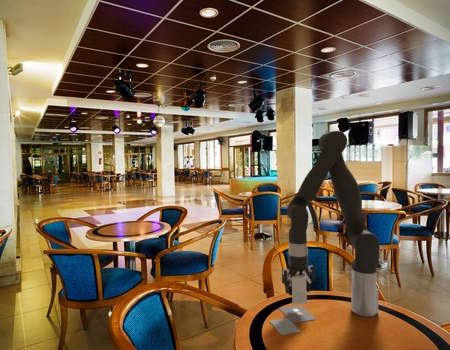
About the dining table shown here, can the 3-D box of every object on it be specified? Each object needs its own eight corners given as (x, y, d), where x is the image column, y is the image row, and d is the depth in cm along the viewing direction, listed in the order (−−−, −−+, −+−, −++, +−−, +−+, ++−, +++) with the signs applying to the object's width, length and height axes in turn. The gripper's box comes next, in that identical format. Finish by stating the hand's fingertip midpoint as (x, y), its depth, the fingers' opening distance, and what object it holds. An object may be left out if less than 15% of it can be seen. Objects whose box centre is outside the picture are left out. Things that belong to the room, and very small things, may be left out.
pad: (287, 318, 117) (287, 317, 117) (300, 332, 107) (300, 331, 107) (269, 321, 115) (269, 320, 115) (281, 335, 105) (281, 334, 105)
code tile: (300, 305, 127) (300, 304, 127) (316, 319, 116) (316, 319, 116) (278, 308, 125) (278, 308, 125) (292, 323, 113) (292, 323, 113)
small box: (307, 304, 117) (306, 278, 116) (292, 303, 118) (291, 277, 117) (305, 295, 124) (305, 270, 124) (291, 294, 126) (291, 270, 125)
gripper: (308, 248, 126) (309, 286, 127) (277, 252, 122) (278, 291, 123) (318, 253, 119) (319, 294, 119) (286, 257, 115) (287, 299, 115)
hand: (298, 293), depth 121 cm, fingers closed on small box, 7 cm apart
